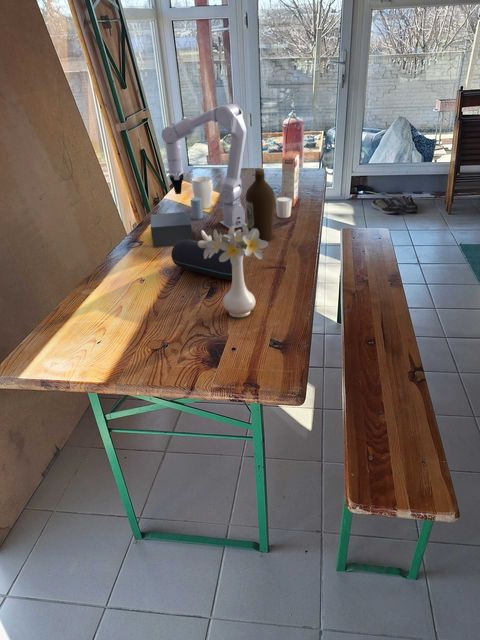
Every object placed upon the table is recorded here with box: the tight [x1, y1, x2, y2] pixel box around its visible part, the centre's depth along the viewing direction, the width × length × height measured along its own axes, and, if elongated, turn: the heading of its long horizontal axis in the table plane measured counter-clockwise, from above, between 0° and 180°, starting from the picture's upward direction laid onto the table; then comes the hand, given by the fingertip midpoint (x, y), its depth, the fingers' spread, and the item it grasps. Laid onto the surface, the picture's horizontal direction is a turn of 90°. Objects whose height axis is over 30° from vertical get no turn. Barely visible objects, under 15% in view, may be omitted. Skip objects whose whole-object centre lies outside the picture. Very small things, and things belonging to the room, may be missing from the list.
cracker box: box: [281, 150, 301, 208], centre depth 218 cm, size 14×6×21 cm, turn 168°
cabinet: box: [150, 211, 194, 248], centre depth 187 cm, size 15×15×8 cm
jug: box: [190, 197, 204, 221], centre depth 207 cm, size 6×4×8 cm
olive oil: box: [245, 168, 276, 242], centre depth 182 cm, size 11×11×25 cm
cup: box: [191, 176, 214, 210], centre depth 218 cm, size 9×9×12 cm
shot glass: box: [275, 196, 292, 219], centre depth 208 cm, size 7×7×7 cm
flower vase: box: [198, 224, 269, 318], centre depth 134 cm, size 13×18×25 cm
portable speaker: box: [170, 239, 245, 281], centre depth 160 cm, size 25×10×10 cm, turn 59°
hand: (178, 193), depth 203 cm, fingers closed
